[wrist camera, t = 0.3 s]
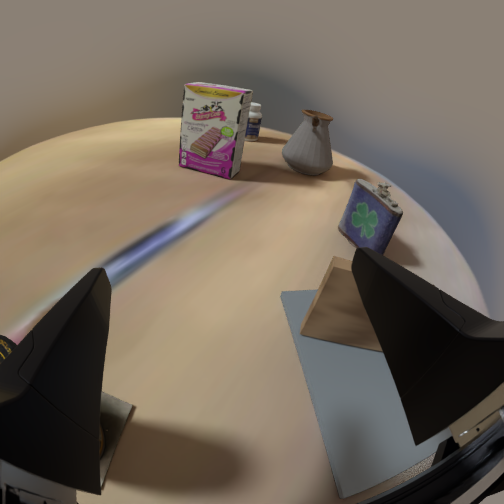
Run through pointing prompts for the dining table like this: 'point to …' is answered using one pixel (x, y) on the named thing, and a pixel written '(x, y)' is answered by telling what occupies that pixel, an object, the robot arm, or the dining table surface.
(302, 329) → the brown piece
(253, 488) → the dining table surface
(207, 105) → the candy bar box
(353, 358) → the stand
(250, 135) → the pill bottle
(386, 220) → the flask
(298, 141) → the coffee pot
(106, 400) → the condiment
